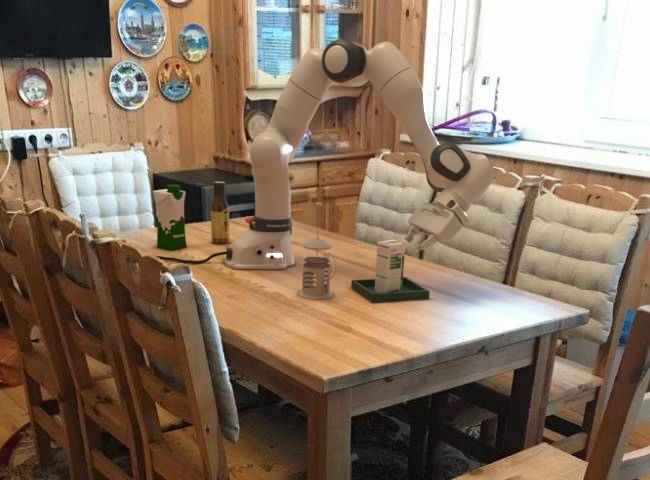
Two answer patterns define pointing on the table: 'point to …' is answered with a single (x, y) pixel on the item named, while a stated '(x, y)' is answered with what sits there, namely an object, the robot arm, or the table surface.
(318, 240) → the french press
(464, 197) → the robot arm
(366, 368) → the table surface
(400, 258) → the syrup box
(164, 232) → the milk carton
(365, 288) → the tray
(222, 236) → the sauce bottle
